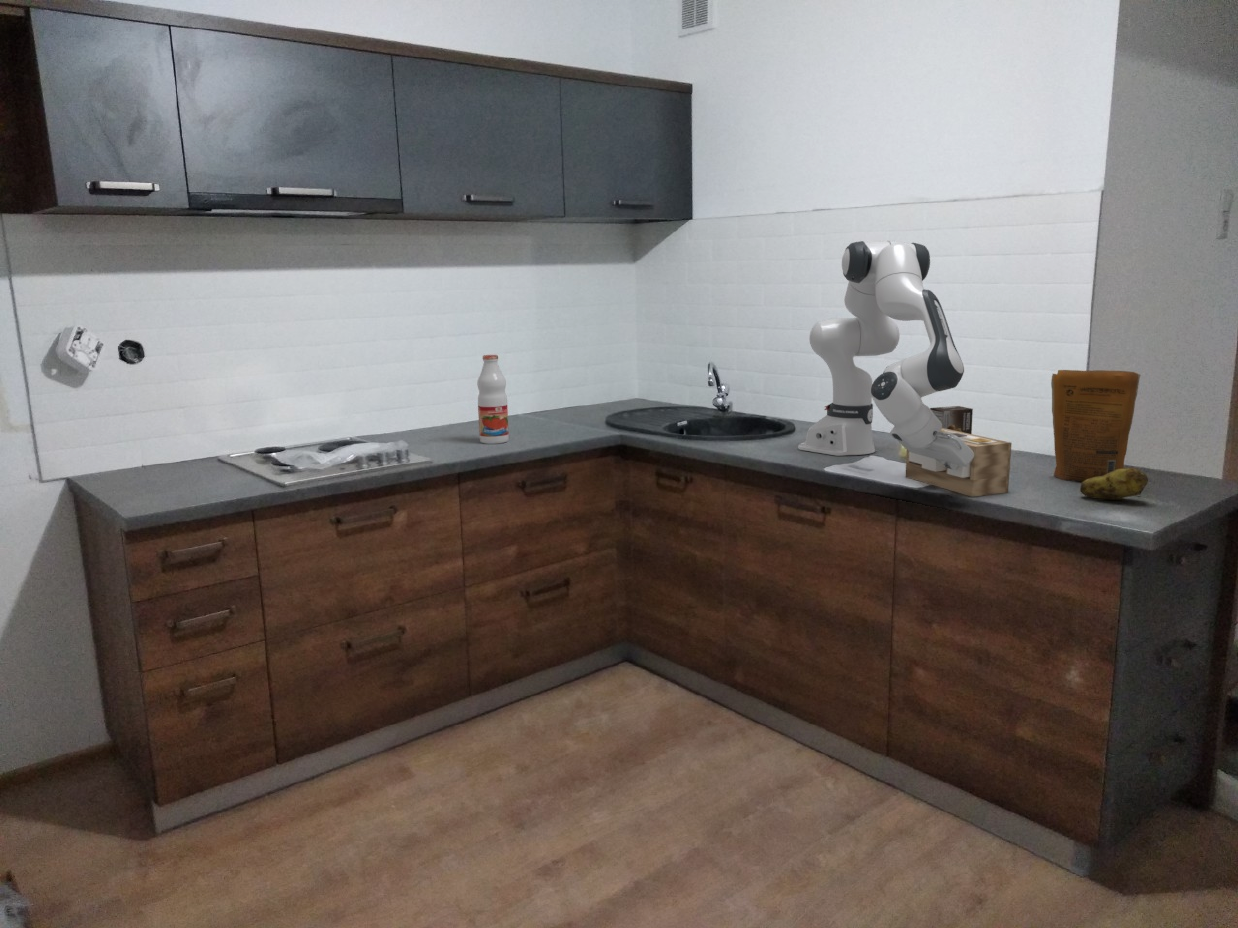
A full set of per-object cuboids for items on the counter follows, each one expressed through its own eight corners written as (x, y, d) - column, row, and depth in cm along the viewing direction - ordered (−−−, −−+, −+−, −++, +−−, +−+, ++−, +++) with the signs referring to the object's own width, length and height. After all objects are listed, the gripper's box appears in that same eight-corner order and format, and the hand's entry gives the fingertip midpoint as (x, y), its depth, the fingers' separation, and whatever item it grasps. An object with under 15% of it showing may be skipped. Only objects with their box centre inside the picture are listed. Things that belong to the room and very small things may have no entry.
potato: (1093, 492, 216) (1096, 459, 215) (1150, 502, 206) (1154, 468, 205) (1075, 498, 211) (1078, 464, 210) (1133, 508, 201) (1136, 473, 200)
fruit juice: (503, 438, 303) (499, 353, 297) (513, 442, 295) (509, 355, 289) (476, 440, 299) (471, 355, 293) (485, 445, 290) (480, 357, 285)
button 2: (962, 477, 214) (963, 456, 213) (947, 473, 219) (948, 453, 217) (991, 474, 217) (993, 453, 216) (976, 470, 222) (977, 449, 221)
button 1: (921, 464, 229) (922, 444, 228) (908, 460, 234) (909, 441, 233) (950, 461, 232) (951, 441, 231) (937, 457, 237) (938, 438, 236)
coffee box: (955, 463, 251) (959, 405, 248) (970, 467, 245) (974, 408, 242) (926, 465, 249) (929, 407, 246) (940, 470, 243) (944, 410, 240)
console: (972, 496, 214) (975, 444, 212) (905, 476, 236) (907, 429, 234) (1008, 492, 218) (1011, 440, 216) (938, 472, 240) (941, 425, 237)
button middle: (935, 471, 221) (936, 451, 220) (921, 467, 225) (922, 447, 224) (964, 468, 224) (966, 448, 223) (950, 464, 229) (951, 444, 228)
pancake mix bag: (1125, 489, 219) (1137, 372, 213) (1042, 478, 231) (1051, 368, 225) (1133, 484, 223) (1144, 370, 218) (1051, 474, 236) (1060, 366, 230)
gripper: (961, 425, 201) (993, 464, 207) (900, 413, 220) (931, 449, 225) (943, 447, 200) (976, 486, 206) (884, 432, 219) (915, 468, 225)
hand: (952, 466), depth 216 cm, fingers closed, pressing on button 2
